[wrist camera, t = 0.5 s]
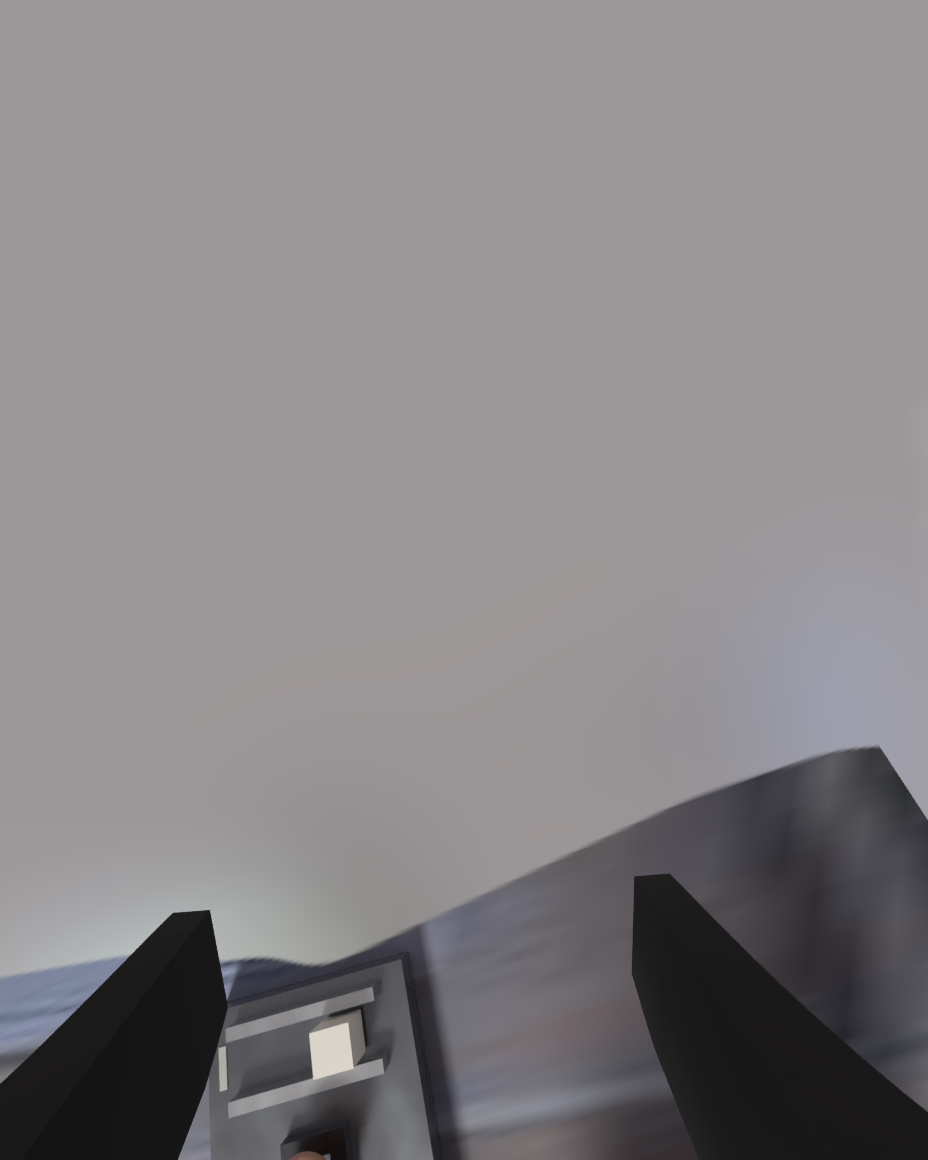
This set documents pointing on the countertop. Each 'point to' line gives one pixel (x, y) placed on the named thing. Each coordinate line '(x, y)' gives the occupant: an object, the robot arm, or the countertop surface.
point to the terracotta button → (307, 1156)
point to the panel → (336, 1102)
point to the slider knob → (337, 1044)
